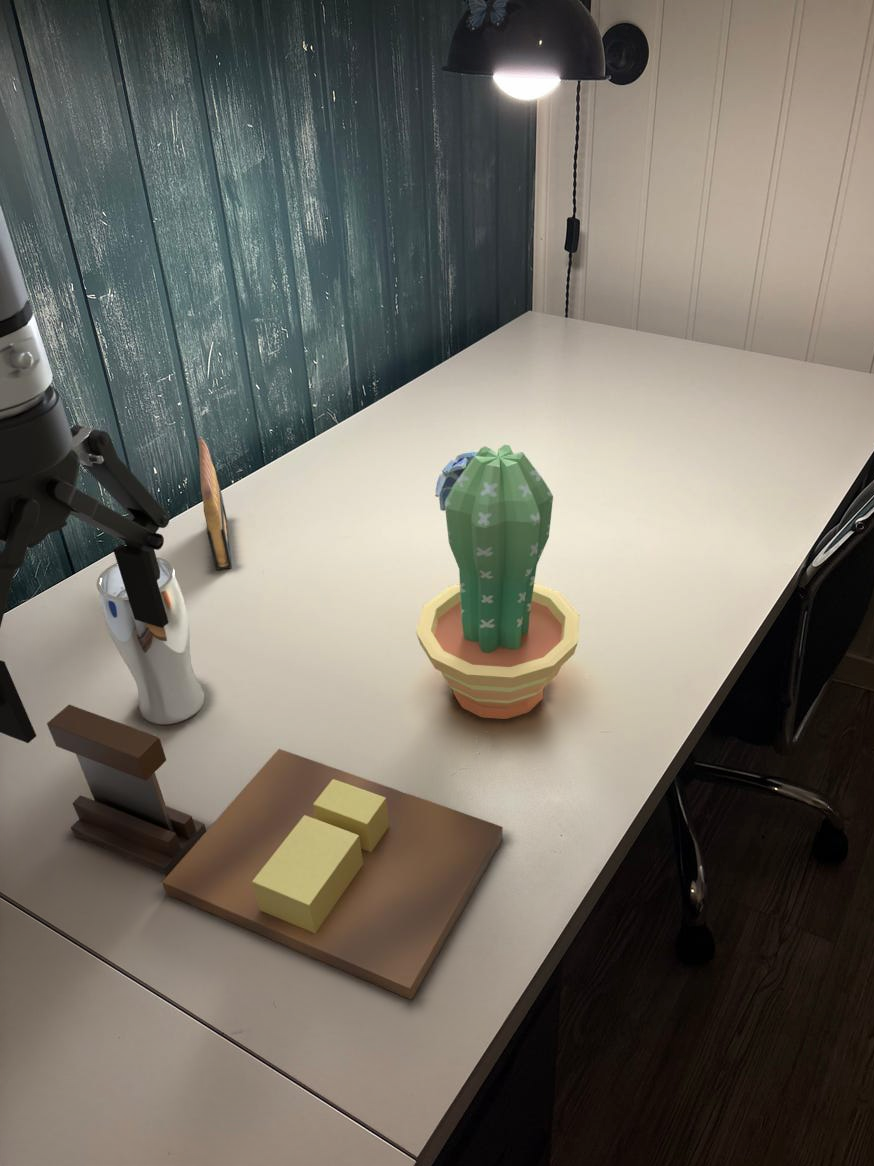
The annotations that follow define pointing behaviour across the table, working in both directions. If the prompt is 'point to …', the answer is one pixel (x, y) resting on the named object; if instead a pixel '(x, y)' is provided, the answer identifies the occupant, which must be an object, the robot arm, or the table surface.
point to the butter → (308, 873)
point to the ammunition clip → (214, 511)
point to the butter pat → (353, 812)
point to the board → (377, 892)
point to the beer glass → (154, 648)
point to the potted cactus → (497, 588)
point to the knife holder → (137, 834)
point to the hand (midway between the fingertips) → (89, 674)
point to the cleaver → (115, 762)
